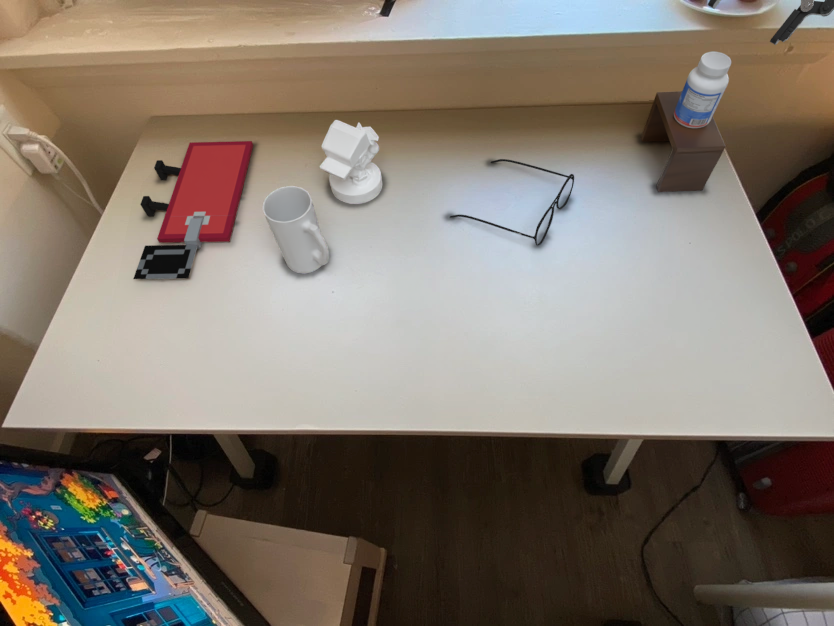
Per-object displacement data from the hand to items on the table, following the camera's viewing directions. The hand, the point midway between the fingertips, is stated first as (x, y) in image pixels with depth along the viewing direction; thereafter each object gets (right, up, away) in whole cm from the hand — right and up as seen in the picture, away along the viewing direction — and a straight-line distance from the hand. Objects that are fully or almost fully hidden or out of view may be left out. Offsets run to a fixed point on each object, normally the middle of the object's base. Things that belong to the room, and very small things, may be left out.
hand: (741, 24), depth 67 cm
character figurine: (-49, -14, +27) cm, 58 cm away
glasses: (-24, -17, +23) cm, 37 cm away
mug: (-55, -27, +19) cm, 64 cm away
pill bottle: (+3, -5, +18) cm, 19 cm away
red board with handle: (-76, -17, +26) cm, 82 cm away
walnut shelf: (+3, -10, +26) cm, 28 cm away
